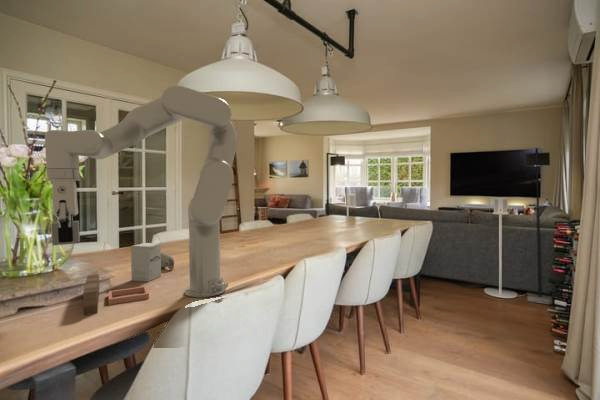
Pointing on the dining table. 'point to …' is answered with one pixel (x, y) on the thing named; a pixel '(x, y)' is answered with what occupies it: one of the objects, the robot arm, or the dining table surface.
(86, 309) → the board
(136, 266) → the supplement box
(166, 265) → the decorative bird
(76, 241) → the bar
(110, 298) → the key collar
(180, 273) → the dining table surface
